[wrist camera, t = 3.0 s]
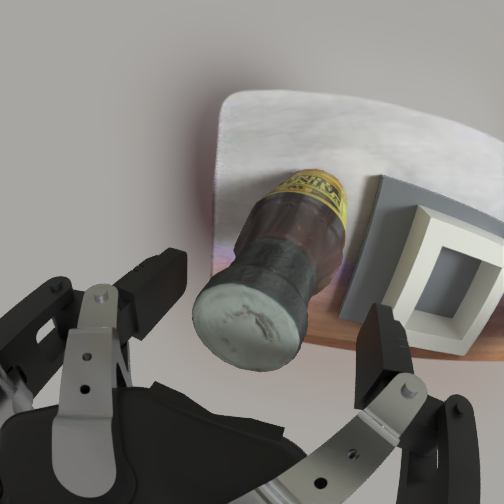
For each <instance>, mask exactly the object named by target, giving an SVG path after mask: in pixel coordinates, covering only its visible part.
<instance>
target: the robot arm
mask: <svg viewBox="0 0 504 504" xmlns="http://www.w3.org/2000/svg"><path fill="white" fill-rule="evenodd" d="M186 285H187V253H186V252H184V251H181V250H178V249H174V248H168V249H166V250H165V251H164V252H162V253H161V254H160V255H155V256H153V257H150V258H147V259H146V260H144V261H143V262H142V263H141V264H139V266H136V267H135V268H134V269H133V271H132V270H131V271H130V272H128V273H127V274H126V275H125V276H123V277H122V278H121V279H119V280H118V281H117V282H116V283H114V284H113V285H109V284H98V285H95V286H92V287H90V288H89V289H88V290H87V291H86V292H84V291H78V290H73V288H72V284H71V281H70V280H69V279H68V278H67V277H63V276H59V277H54V278H51V279H49V280H48V281H46V282H45V283H43V284H42V285H41V286H40V287H38V288H37V289H36V290H34V291H33V292H32V293H30V294H29V295H28V296H27V297H25V298H24V299H23V300H22V301H21V302H19V303H18V304H17V305H16V306H14V307H13V308H12V309H11V310H10V311H8V312H7V313H6V314H5V315H4V316H3V317H1V318H0V504H342V503H343V502H344V501H345V500H346V499H347V498H349V497H350V496H351V495H352V494H353V493H354V492H355V491H356V490H357V489H358V488H359V487H360V486H361V485H362V484H363V483H364V482H365V481H366V480H367V479H368V478H369V477H370V476H371V475H372V474H373V473H374V472H375V470H376V469H377V468H378V467H379V466H380V465H381V464H382V463H383V462H384V460H385V459H386V458H387V457H388V456H389V454H390V453H391V452H392V451H393V450H394V448H395V447H396V446H397V447H399V448H402V458H401V469H400V479H399V487H398V494H397V501H396V504H480V459H479V447H478V438H477V430H476V423H475V417H474V411H473V407H472V405H471V403H470V402H469V401H468V400H467V399H466V398H465V397H463V396H461V395H458V394H455V395H451V396H450V397H449V398H448V399H447V400H446V401H445V402H443V401H441V400H439V399H436V398H434V397H431V396H429V395H428V394H427V389H426V386H425V384H424V382H423V381H422V380H421V379H420V378H419V377H417V376H416V375H414V370H413V364H412V359H411V354H410V349H409V344H408V341H407V340H408V339H407V335H406V330H405V329H404V327H403V326H402V324H401V323H400V321H397V320H394V316H393V311H392V307H391V306H387V305H383V304H379V303H373V304H372V306H371V308H370V310H369V312H368V314H367V317H366V319H365V321H364V323H363V325H362V327H361V329H360V331H359V334H358V337H357V342H356V382H355V403H354V409H360V410H362V411H360V412H359V413H358V414H357V415H356V416H355V417H354V418H353V419H352V420H351V421H350V422H348V424H346V425H345V426H344V427H343V428H342V429H340V431H338V432H337V433H336V434H335V435H333V436H332V437H331V438H330V439H329V440H327V442H325V443H324V444H322V445H321V446H320V447H319V448H317V449H316V450H315V451H313V452H312V453H311V454H310V455H308V456H307V454H306V453H305V452H304V451H303V450H302V449H301V448H300V447H298V446H297V445H296V444H295V443H293V442H292V441H290V440H289V439H287V438H285V437H283V432H284V429H285V428H284V427H280V426H277V425H273V424H269V423H265V422H262V421H258V420H255V419H252V418H241V417H232V416H224V415H217V414H213V413H211V412H209V411H208V410H206V409H204V408H203V407H201V406H200V405H199V404H197V403H196V402H194V401H193V400H191V399H190V398H189V397H187V396H186V395H185V394H183V393H180V392H178V391H176V390H174V389H171V388H169V387H167V386H165V385H163V384H160V383H158V382H156V381H155V382H154V383H153V385H152V386H151V387H150V388H144V387H133V386H132V381H131V370H130V351H129V341H128V340H129V339H130V338H131V337H132V336H133V337H135V338H137V339H139V340H141V341H142V340H143V339H144V338H145V337H146V335H147V334H148V333H149V332H150V331H151V330H152V329H153V328H154V326H155V325H156V324H157V323H158V322H159V321H160V320H161V319H162V317H163V316H164V315H165V314H166V313H167V312H168V311H169V309H170V308H171V307H172V306H173V305H174V304H175V303H176V302H177V301H178V300H179V298H180V297H181V296H182V295H183V294H184V292H185V289H186ZM51 318H52V320H53V323H54V325H55V328H54V329H53V330H52V331H51V332H50V333H49V334H48V335H47V336H46V337H45V338H43V340H41V341H40V342H39V343H37V341H36V335H37V332H38V330H39V329H40V328H41V327H42V326H43V325H45V324H46V323H47V322H48V321H49V320H50V319H51ZM62 365H63V369H62V377H61V386H60V397H59V404H58V405H53V406H49V407H44V408H39V409H34V408H33V407H32V404H33V399H34V397H35V396H36V395H37V394H38V393H39V391H40V390H41V389H42V388H43V387H44V386H45V384H46V383H47V382H48V381H49V380H50V379H51V377H52V376H53V375H54V374H55V373H56V372H57V371H58V369H59V368H60V367H61V366H62ZM437 450H438V468H437Z"/></svg>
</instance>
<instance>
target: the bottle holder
mask: <svg viewBox="0 0 504 504" xmlns="http://www.w3.org/2000/svg"><path fill="white" fill-rule="evenodd" d="M503 293H504V222H502V221H500V220H498V219H496V218H494V217H492V216H489V215H487V214H485V213H483V212H481V211H479V210H476V209H474V208H472V207H470V206H467V205H465V204H463V203H460V202H458V201H455V200H453V199H450V198H448V197H445V196H443V195H440V194H438V193H435V192H432V191H429V190H427V189H424V188H421V187H418V186H415V185H413V184H410V183H407V182H404V181H401V180H397V179H394V178H391V177H388V176H385V175H381V178H380V182H379V187H378V191H377V194H376V198H375V202H374V206H373V209H372V213H371V217H370V220H369V224H368V227H367V230H366V234H365V237H364V240H363V243H362V246H361V250H360V253H359V256H358V259H357V262H356V265H355V268H354V270H353V273H352V276H351V279H350V282H349V285H348V287H347V290H346V293H345V295H344V298H343V301H342V303H341V306H340V308H339V315H338V318H341V319H345V320H349V321H353V322H357V323H361V324H363V323H364V321H365V319H366V317H367V314H368V312H369V310H370V308H371V306H372V304H373V303H379V304H383V305H387V306H391V307H392V311H393V316H394V320H397V321H400V323H401V324H402V326H403V327H404V329H405V330H406V335H407V339H408V340H407V341H408V344H409V346H411V347H416V348H421V349H427V350H432V351H438V352H443V353H449V354H455V355H462V356H465V354H466V353H467V352H468V350H469V349H470V347H471V346H472V344H473V343H474V342H475V340H476V339H477V337H478V336H479V334H480V333H481V331H482V329H483V328H484V326H485V325H486V323H487V321H488V320H489V318H490V316H491V315H492V313H493V311H494V310H495V308H496V306H497V304H498V302H499V301H500V299H501V297H502V295H503Z"/></svg>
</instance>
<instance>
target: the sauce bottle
mask: <svg viewBox="0 0 504 504" xmlns="http://www.w3.org/2000/svg"><path fill="white" fill-rule="evenodd" d="M346 219H347V197H346V193H345V190H344V188H343V187H342V185H341V183H340V182H339V180H338V179H337V178H335V177H334V176H333V175H331V174H329V173H327V172H325V171H323V170H318V169H306V170H302V171H299V172H297V173H295V174H294V175H292V176H291V177H290V178H288V179H287V180H286V181H285V182H283V183H282V184H280V185H279V186H278V187H276V188H275V189H274V190H272V191H271V192H270V193H269V194H268V195H266V196H265V197H264V198H262V199H261V200H260V201H259V202H257V203H256V204H255V206H254V207H253V209H252V210H251V212H250V214H249V216H248V219H247V221H246V223H245V225H244V227H243V229H242V231H241V233H240V235H239V237H238V239H237V242H236V244H235V247H234V253H235V256H236V258H235V260H234V261H233V262H232V263H231V265H230V266H229V267H228V268H226V269H224V270H222V271H220V272H218V273H217V274H215V275H214V276H213V277H212V278H211V279H210V281H209V282H208V283H207V284H206V286H205V287H204V288H203V289H202V290H201V292H200V293H199V295H198V296H197V298H196V301H195V303H194V306H193V309H192V315H193V316H192V320H193V324H194V328H195V330H196V333H197V334H198V336H199V338H200V339H201V341H202V342H203V344H204V345H205V346H206V347H208V349H210V351H211V352H212V353H213V354H215V355H216V356H217V357H219V358H220V359H221V360H223V361H224V362H227V363H229V364H231V365H233V366H235V367H237V368H240V369H245V370H251V371H257V372H267V371H273V370H277V369H279V368H281V367H282V366H284V365H286V364H288V363H289V362H290V361H291V360H293V359H294V358H295V356H296V355H297V353H298V351H299V350H300V348H301V344H302V341H303V340H304V337H305V335H306V331H307V327H308V320H307V319H308V313H307V307H308V302H309V300H310V298H311V297H312V296H314V295H316V294H318V293H319V292H320V291H321V290H323V289H324V288H325V287H326V286H327V285H328V284H329V283H330V281H331V279H332V277H333V276H334V274H335V273H336V272H337V270H338V268H339V266H340V265H341V262H342V258H343V249H344V246H345V238H346Z"/></svg>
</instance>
